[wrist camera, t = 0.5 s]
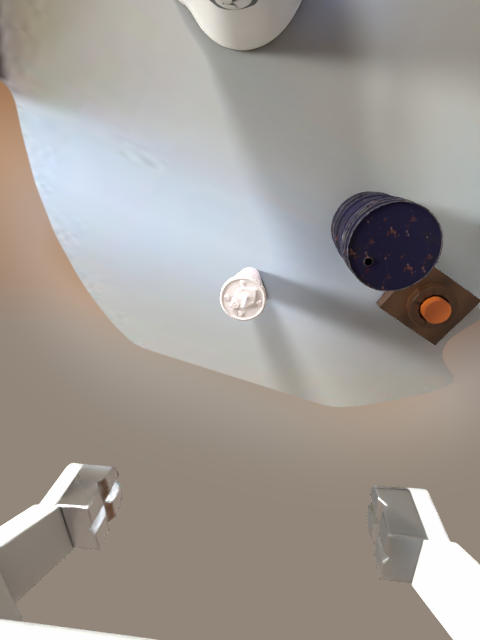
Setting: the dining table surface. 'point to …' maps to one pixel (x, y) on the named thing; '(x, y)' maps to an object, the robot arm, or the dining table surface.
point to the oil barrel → (386, 240)
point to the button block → (410, 299)
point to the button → (435, 309)
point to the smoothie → (244, 295)
